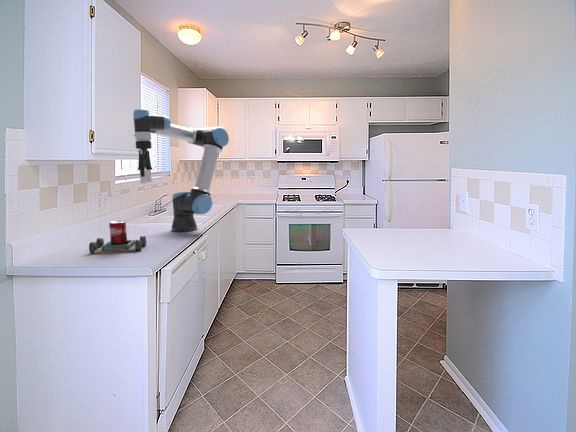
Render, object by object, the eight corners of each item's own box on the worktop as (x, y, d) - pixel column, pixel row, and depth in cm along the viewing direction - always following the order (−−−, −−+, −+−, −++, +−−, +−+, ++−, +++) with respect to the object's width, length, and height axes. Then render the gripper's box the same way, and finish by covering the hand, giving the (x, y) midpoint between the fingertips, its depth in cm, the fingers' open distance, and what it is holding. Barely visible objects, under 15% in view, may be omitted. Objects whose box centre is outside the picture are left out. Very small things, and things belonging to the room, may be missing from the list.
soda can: (121, 244, 192) (119, 220, 191) (130, 246, 189) (129, 221, 187) (107, 247, 186) (105, 222, 185) (117, 249, 183) (115, 223, 181)
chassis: (100, 247, 194) (99, 237, 193) (146, 244, 197) (146, 235, 196) (89, 254, 178) (88, 243, 177) (139, 251, 181) (138, 241, 181)
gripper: (140, 142, 212) (143, 181, 214) (129, 139, 187) (133, 184, 190) (155, 142, 213) (158, 181, 215) (145, 139, 188) (149, 183, 191)
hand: (146, 182), depth 203 cm, fingers open, 13 cm apart
